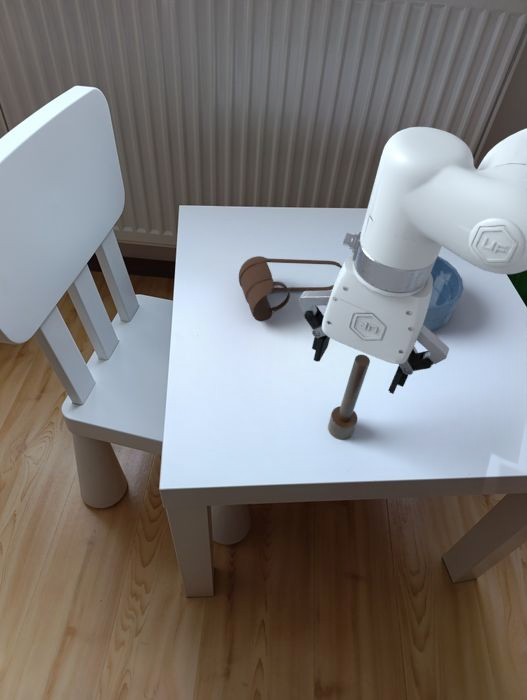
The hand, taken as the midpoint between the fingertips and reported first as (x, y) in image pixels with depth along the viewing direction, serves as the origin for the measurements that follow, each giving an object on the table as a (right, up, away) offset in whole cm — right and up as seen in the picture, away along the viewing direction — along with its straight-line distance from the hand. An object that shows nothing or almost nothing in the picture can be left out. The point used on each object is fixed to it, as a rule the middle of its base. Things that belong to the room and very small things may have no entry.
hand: (356, 369), depth 65 cm
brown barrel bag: (-6, +11, +27) cm, 30 cm away
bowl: (+14, +11, +28) cm, 33 cm away
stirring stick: (-1, -9, +10) cm, 13 cm away
